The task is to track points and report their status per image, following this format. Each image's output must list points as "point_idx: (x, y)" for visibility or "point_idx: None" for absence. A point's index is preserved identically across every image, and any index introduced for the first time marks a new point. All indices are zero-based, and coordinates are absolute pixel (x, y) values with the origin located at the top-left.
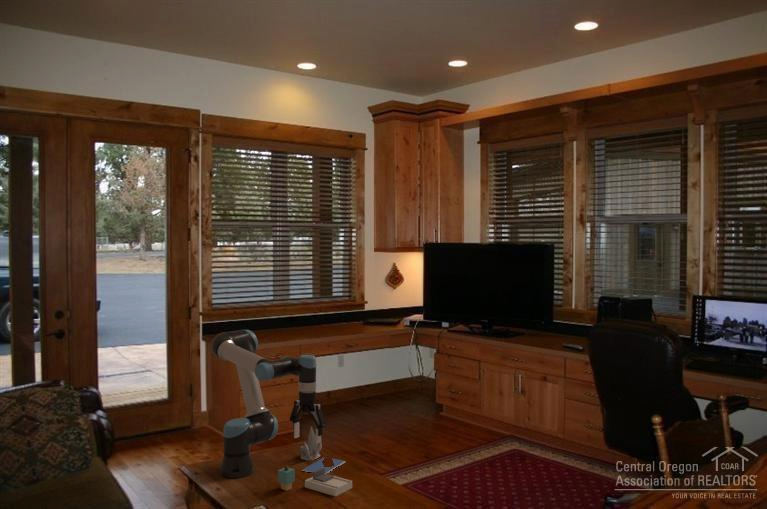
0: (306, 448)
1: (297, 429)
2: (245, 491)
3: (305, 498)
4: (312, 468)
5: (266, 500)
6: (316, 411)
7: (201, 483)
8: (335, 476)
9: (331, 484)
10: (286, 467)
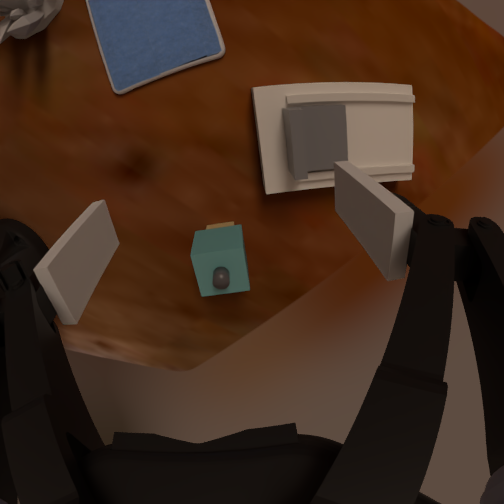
0: (24, 27)
1: (87, 255)
2: (157, 320)
3: (333, 241)
4: (134, 52)
5: (253, 317)
6: (497, 450)
7: None
8: (345, 94)
9: (376, 156)
10: (228, 285)
